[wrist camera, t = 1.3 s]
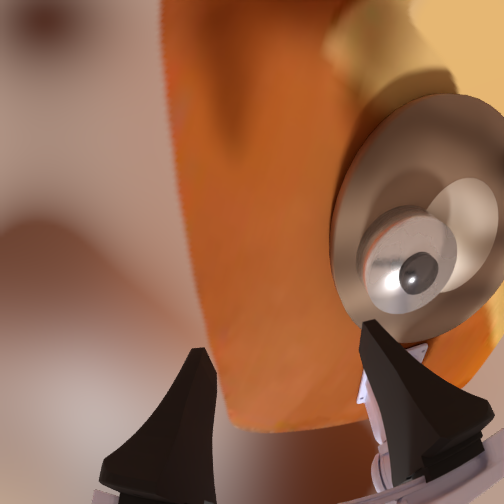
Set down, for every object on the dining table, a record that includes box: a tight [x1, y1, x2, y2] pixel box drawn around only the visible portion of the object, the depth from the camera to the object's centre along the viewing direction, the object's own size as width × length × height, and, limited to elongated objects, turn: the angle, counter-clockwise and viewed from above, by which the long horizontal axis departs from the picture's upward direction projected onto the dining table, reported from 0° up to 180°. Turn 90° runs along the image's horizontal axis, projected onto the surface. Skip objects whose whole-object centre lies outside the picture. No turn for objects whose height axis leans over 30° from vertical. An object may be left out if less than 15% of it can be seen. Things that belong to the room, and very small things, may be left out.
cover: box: [356, 205, 457, 314], centre depth 16 cm, size 7×7×3 cm
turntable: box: [329, 93, 504, 343], centre depth 16 cm, size 22×22×4 cm
